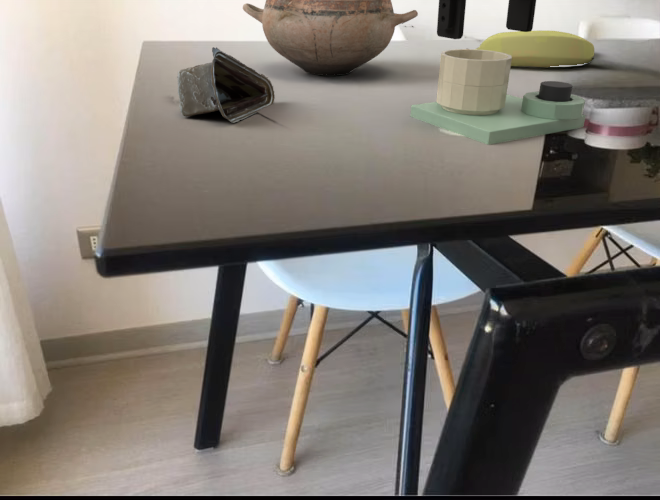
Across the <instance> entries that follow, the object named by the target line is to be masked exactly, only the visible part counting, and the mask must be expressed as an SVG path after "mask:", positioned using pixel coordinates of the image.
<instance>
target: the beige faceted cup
mask: <svg viewBox="0 0 660 500" xmlns="http://www.w3.org/2000/svg"><path fill="white" fill-rule="evenodd" d="M511 61H512V56H511V55H508V54H506V53H501V52H496V51H488V50H476V48H473V49H472V48H456V49H446V50H443V51H441V53H440V60H439V70H438V80H437V92H436V101H435V102H437V103H438V104H440V105H441V108H443V109H444V110H447V111H450V112H454V113H459V114H467V115H488V114H494V113H497V112H498V111H499V110H500V109H502V108H504V107H505V101H506V95H507V94H508V88H509V87H508V86H509V81H510V73H511V67H512V66H511Z"/></svg>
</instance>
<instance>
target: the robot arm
mask: <svg viewBox="0 0 660 500" xmlns="http://www.w3.org/2000/svg"><path fill="white" fill-rule="evenodd" d="M507 4H508V6H507V13H506V21H505V25H506V26H505V28H506V29H507V30H510V31H515V32H517V31H522V32H530V31H533V28H534V22H535V13H536V6H537V0H508V3H507ZM466 8H467V0H438V10H437V25H436V34H437V37H440V38H445V39H452V40H461V39H462V38H463V37H464V29H465V18H466Z"/></svg>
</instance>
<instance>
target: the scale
mask: <svg viewBox="0 0 660 500" xmlns="http://www.w3.org/2000/svg"><path fill="white" fill-rule="evenodd" d="M538 96H539V91H531V92H530V91H529V92H526V93H525V94H524V95H523V96H522V97H519V96H515V95H512V94H508V93H507V95H506V101H505V107H504V108H502V109H500V110H499V111H498V112H497V113H494V114H488V115H467V114H459V113H454V112H450V111H447V110H444V109H443V108H441V105H440V104H438V103H437V102H436V101H432V102H425V103H417V104H411V105H410V115H409V117H411V118H413V119H415V120H418V121H421V122H424V123H426V124H429V125H432V126H435V127H437V128H440V129H444V130H446V131H449V132H451V133H454V134H456V135H460V136H462V137H465V138H469V139H471V140H473V141H476V142H479V143H482V144H484V145H487V146H490V145H494V144H495V145H496V144H500V143H507V142H512V141H516V140H517V141H518V140H521V139H527V138H533V137H539V136H544V135H549V134H554V133H560V132H566V131H571V130H576V129H581V128H584V126H585V121H586V117H587V115H586V114H584V110H585V103H586V99H585V98H583V97H581V96H579V95H575V94H571V97H570V101H568V102H554V101H546V100H542V99H538Z"/></svg>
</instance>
